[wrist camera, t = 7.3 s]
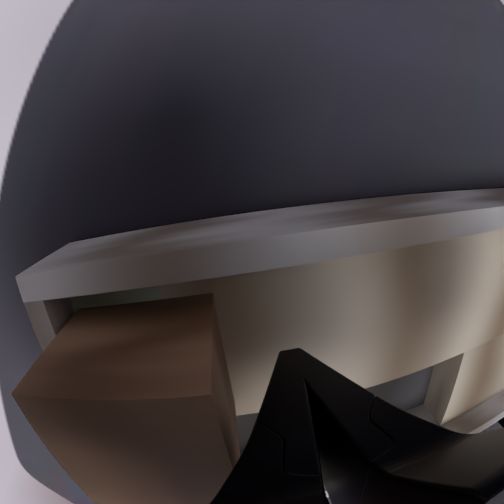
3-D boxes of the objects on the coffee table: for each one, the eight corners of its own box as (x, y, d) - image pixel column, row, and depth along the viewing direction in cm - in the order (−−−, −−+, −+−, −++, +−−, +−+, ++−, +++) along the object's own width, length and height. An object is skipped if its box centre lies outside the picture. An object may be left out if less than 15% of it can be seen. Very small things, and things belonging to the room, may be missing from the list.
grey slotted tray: (515, 187, 12) (568, 198, 8) (483, 377, 16) (515, 408, 12) (69, 242, 11) (14, 276, 7) (156, 460, 14) (149, 514, 10)
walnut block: (213, 292, 9) (211, 394, 5) (234, 403, 10) (245, 506, 6) (79, 308, 9) (11, 393, 5) (120, 410, 10) (94, 502, 6)
